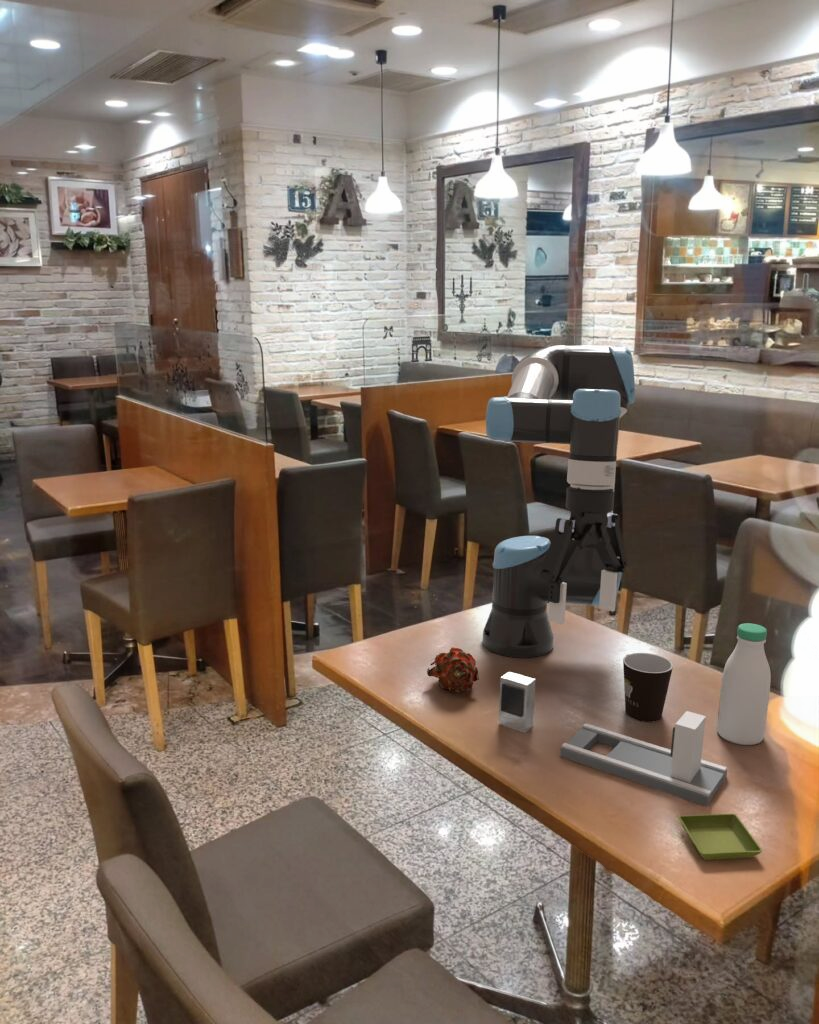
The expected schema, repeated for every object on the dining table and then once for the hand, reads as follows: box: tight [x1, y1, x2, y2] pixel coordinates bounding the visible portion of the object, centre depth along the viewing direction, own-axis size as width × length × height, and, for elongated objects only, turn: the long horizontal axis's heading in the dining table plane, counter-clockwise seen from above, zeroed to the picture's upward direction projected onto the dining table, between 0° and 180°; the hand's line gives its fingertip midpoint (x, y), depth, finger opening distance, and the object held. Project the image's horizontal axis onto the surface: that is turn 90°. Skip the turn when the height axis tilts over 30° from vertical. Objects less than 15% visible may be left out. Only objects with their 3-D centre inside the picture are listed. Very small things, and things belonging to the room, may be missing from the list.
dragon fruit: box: [426, 646, 480, 694], centre depth 167 cm, size 8×8×12 cm
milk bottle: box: [716, 622, 772, 746], centre depth 149 cm, size 8×8×20 cm
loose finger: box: [498, 671, 536, 734], centre depth 153 cm, size 5×4×9 cm
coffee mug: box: [622, 652, 674, 723], centre depth 159 cm, size 12×9×10 cm
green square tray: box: [677, 813, 763, 861], centre depth 122 cm, size 9×9×2 cm
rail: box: [559, 710, 728, 807], centre depth 140 cm, size 10×24×10 cm, turn 55°
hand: (582, 615), depth 143 cm, fingers open, 13 cm apart
